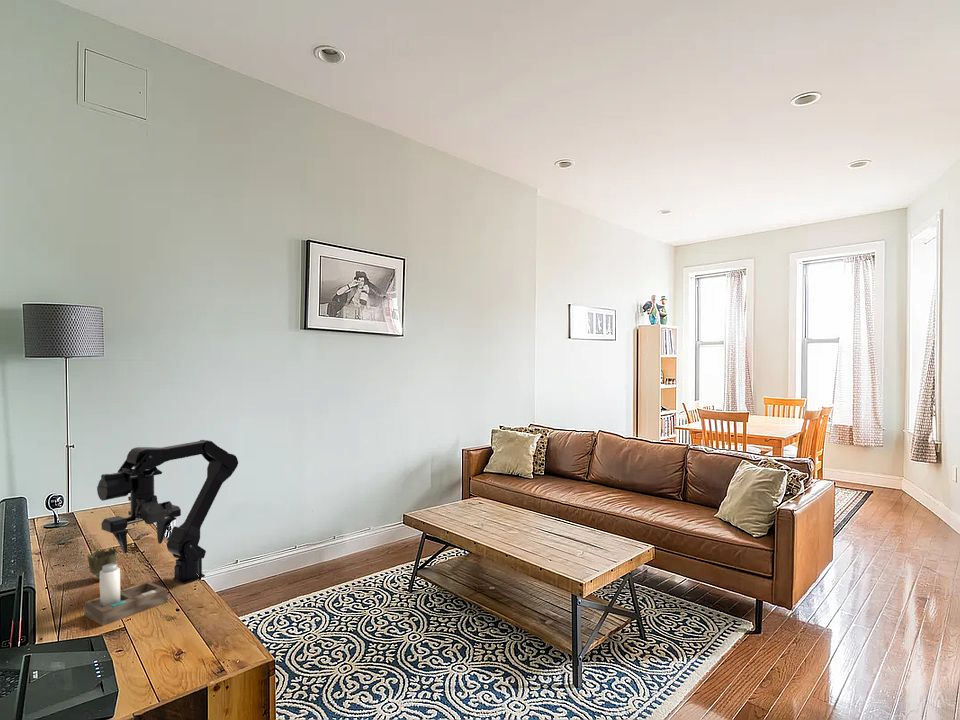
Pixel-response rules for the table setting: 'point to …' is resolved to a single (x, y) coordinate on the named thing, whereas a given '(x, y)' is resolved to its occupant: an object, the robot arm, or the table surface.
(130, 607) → the socket block
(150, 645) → the table surface
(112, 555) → the cup
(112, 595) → the plug
